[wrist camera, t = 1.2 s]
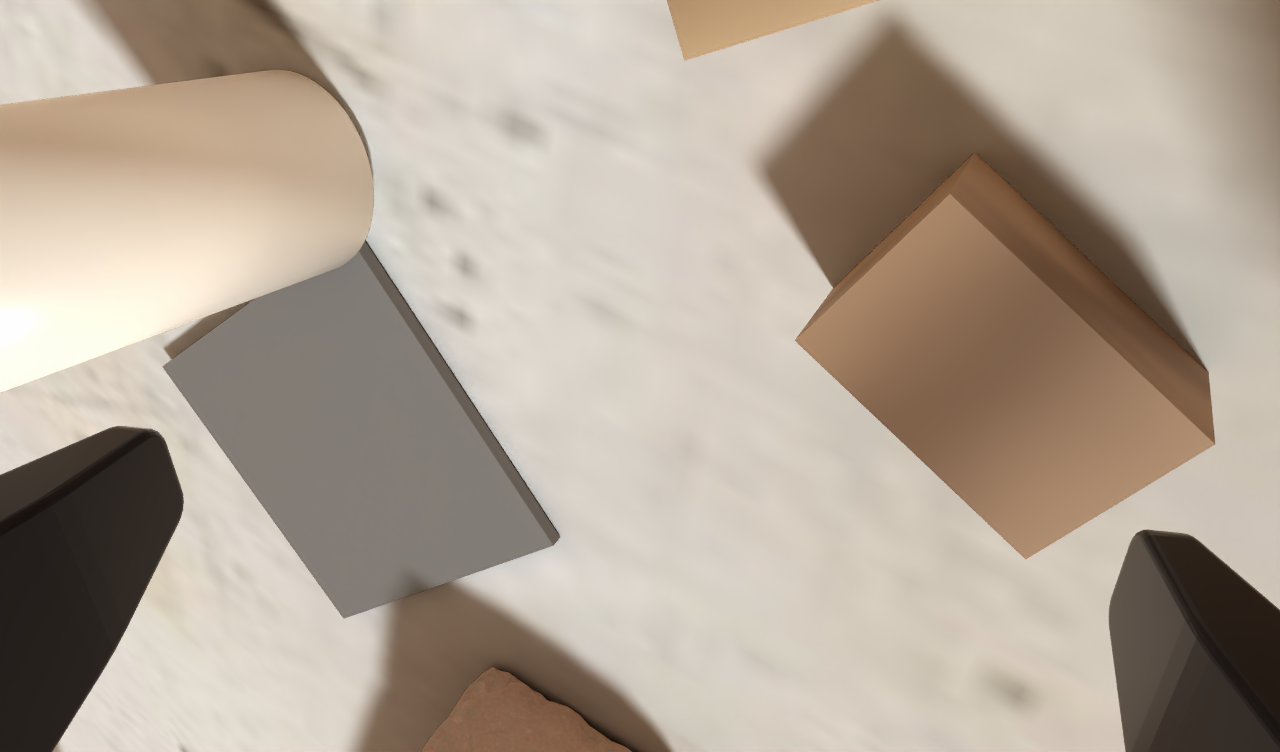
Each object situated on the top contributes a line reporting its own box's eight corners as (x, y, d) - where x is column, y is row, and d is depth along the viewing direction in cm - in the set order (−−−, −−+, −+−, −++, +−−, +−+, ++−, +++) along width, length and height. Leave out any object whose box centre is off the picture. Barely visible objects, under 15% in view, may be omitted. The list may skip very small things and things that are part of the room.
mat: (560, 537, 28) (553, 545, 27) (351, 611, 33) (343, 618, 33) (356, 227, 26) (346, 231, 26) (172, 361, 32) (162, 366, 31)
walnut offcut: (1208, 367, 19) (1214, 443, 16) (1040, 478, 21) (1025, 559, 19) (976, 149, 19) (950, 193, 16) (836, 284, 21) (795, 340, 19)
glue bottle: (408, 218, 24) (-335, 470, 13) (292, 302, 27) (-397, 569, 16) (298, 27, 24) (-584, 103, 12) (192, 134, 27) (-599, 278, 15)
